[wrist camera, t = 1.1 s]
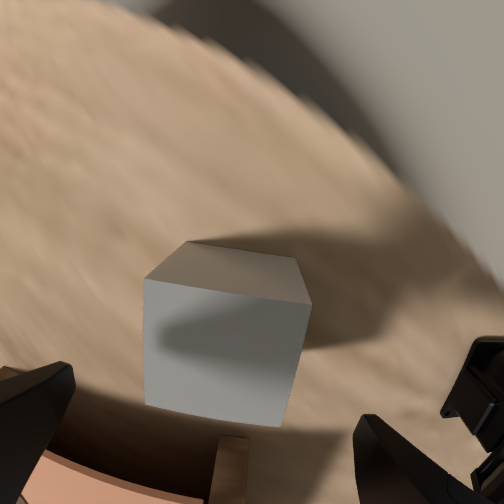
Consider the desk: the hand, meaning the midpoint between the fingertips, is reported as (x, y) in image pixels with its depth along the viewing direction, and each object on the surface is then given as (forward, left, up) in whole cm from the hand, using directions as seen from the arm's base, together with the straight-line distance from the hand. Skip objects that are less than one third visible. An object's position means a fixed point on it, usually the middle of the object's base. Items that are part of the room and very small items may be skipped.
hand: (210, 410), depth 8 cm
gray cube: (0, 0, -9) cm, 9 cm away
